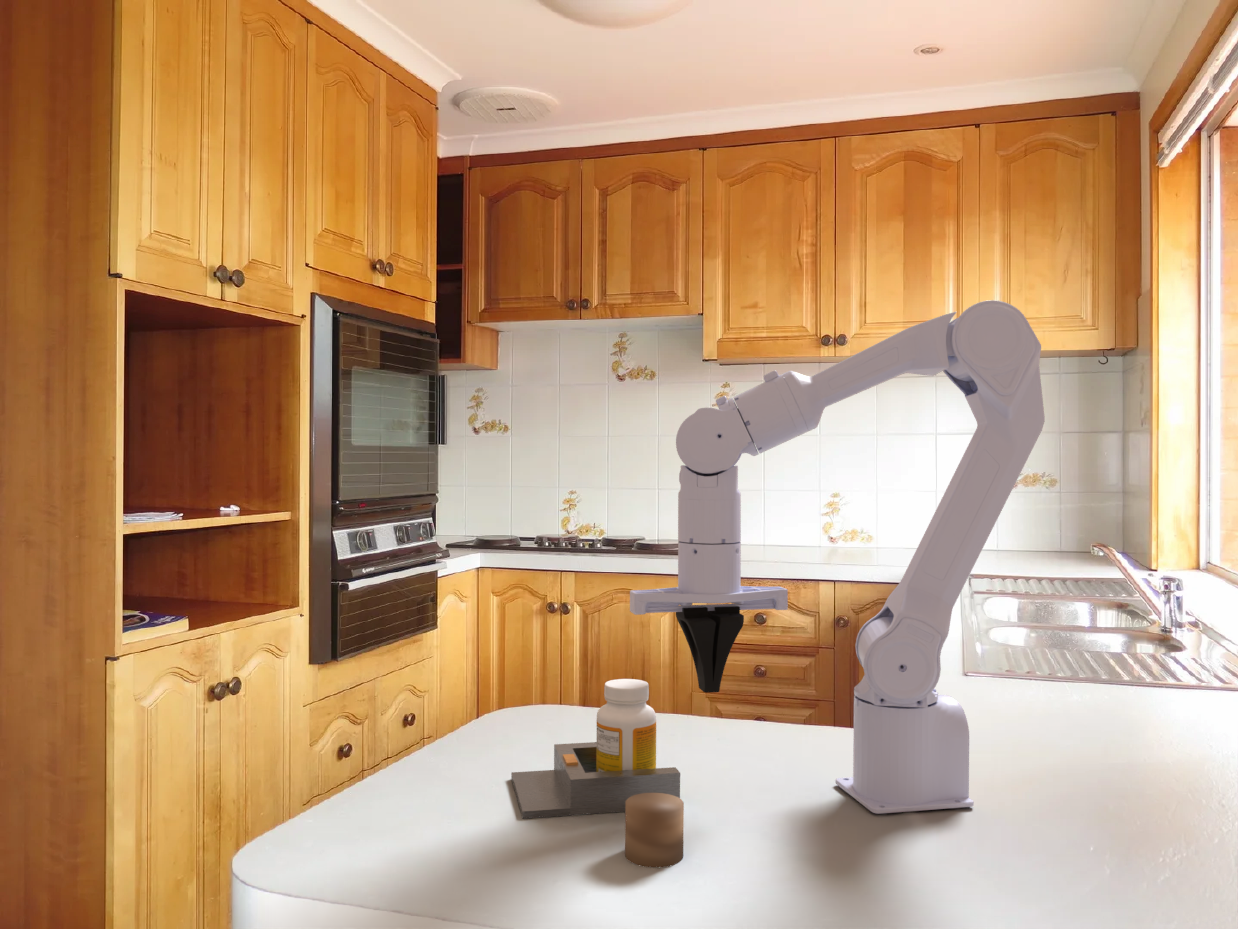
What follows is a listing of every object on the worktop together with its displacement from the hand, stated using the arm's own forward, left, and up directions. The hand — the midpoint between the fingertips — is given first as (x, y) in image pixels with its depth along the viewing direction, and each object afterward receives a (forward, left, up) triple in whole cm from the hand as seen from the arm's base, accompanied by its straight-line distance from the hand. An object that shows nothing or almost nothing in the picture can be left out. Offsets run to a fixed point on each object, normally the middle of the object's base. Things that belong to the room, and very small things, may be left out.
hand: (709, 690), depth 88 cm
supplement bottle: (+8, 0, -9) cm, 12 cm away
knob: (+9, +14, -9) cm, 19 cm away
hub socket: (+11, 0, -9) cm, 14 cm away
